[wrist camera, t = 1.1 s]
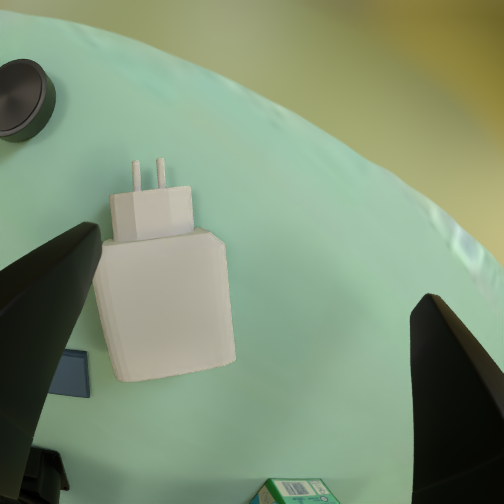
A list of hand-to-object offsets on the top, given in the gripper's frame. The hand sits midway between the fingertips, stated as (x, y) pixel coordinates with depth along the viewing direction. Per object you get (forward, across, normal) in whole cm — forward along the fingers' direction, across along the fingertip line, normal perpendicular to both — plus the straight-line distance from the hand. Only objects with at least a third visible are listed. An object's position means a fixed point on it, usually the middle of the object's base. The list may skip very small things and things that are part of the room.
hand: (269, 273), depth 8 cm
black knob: (+14, +20, +2) cm, 24 cm away
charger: (+12, +7, +12) cm, 18 cm away
